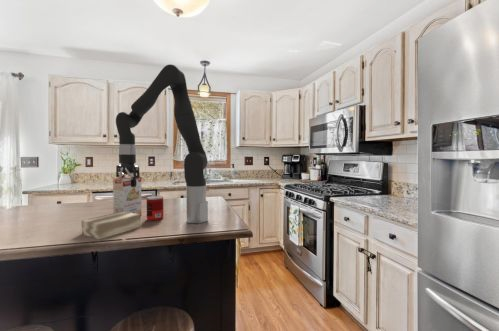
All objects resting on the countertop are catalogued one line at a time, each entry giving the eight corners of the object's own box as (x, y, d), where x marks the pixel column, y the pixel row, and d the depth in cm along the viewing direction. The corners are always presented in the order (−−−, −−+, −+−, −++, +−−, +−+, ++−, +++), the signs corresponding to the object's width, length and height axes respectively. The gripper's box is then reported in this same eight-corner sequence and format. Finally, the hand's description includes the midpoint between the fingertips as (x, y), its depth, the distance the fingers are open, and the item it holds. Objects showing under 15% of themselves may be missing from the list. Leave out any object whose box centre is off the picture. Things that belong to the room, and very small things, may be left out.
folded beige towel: (140, 227, 110) (140, 214, 110) (99, 239, 95) (98, 224, 94) (123, 224, 116) (123, 211, 116) (81, 235, 101) (81, 220, 100)
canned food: (166, 217, 128) (165, 195, 128) (159, 221, 120) (158, 198, 120) (151, 216, 129) (151, 195, 128) (143, 220, 121) (143, 198, 121)
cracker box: (124, 223, 117) (123, 178, 116) (112, 222, 118) (111, 178, 118) (142, 215, 131) (141, 176, 130) (132, 215, 132) (131, 175, 131)
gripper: (143, 153, 124) (144, 186, 124) (124, 153, 130) (125, 184, 131) (130, 153, 117) (130, 188, 117) (111, 153, 123) (111, 186, 124)
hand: (127, 186), depth 124 cm, fingers open, 8 cm apart
